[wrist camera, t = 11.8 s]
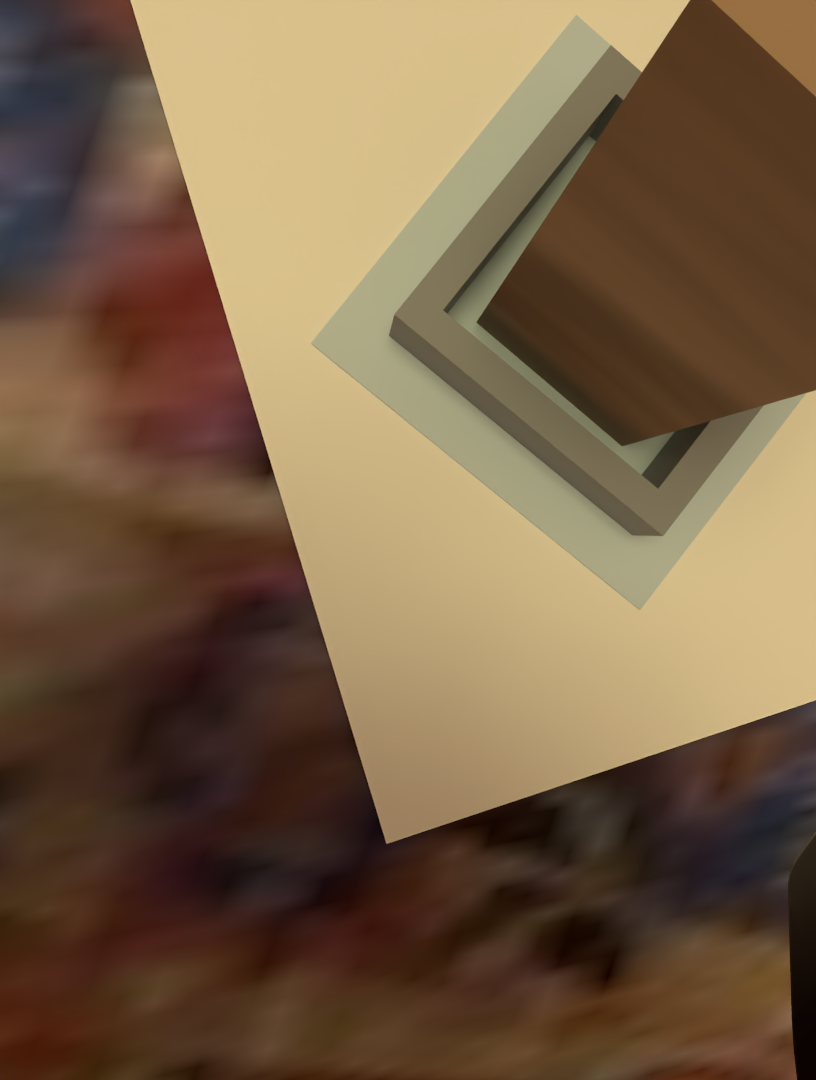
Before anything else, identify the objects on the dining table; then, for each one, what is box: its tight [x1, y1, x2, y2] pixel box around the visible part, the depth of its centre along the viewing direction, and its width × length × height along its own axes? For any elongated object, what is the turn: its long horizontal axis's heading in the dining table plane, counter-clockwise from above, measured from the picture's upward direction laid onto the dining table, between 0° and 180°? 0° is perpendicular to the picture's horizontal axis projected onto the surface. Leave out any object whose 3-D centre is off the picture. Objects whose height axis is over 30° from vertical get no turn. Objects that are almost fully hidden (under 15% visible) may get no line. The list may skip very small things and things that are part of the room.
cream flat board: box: [131, 0, 816, 844], centre depth 19 cm, size 17×27×2 cm, turn 17°
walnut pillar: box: [476, 0, 816, 446], centre depth 14 cm, size 5×5×12 cm
